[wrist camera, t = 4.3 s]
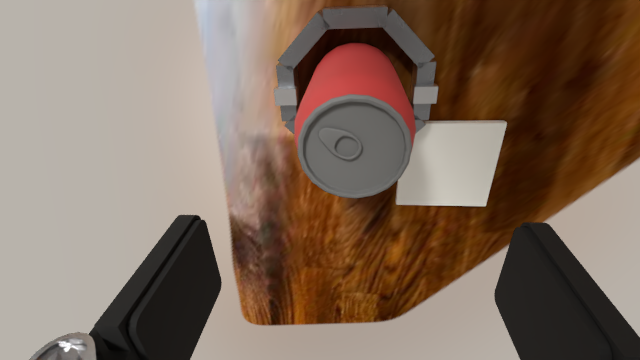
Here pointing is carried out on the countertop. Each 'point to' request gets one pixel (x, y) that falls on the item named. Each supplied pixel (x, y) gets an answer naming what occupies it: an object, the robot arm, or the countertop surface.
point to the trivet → (452, 163)
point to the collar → (357, 17)
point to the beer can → (354, 123)
